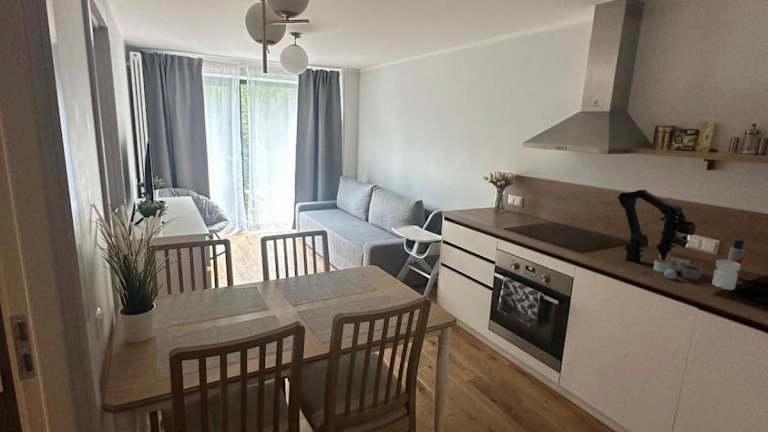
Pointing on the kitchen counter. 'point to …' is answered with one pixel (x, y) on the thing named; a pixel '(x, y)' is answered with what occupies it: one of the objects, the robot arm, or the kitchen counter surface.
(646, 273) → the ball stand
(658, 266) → the tube left
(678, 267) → the dot card
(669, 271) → the ball slate
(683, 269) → the tube right
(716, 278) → the vase
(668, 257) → the ball terracotta
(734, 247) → the lotion bottle
